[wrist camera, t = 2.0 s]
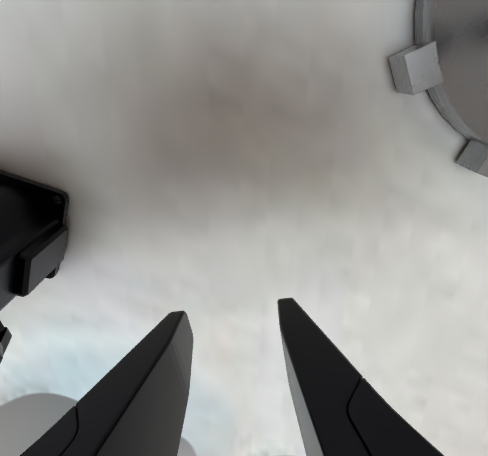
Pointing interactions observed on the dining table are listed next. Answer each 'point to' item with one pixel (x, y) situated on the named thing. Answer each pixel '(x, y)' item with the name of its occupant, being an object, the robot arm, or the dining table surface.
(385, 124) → the dining table surface
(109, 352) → the dining table surface
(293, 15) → the dining table surface
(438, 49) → the sprocket
